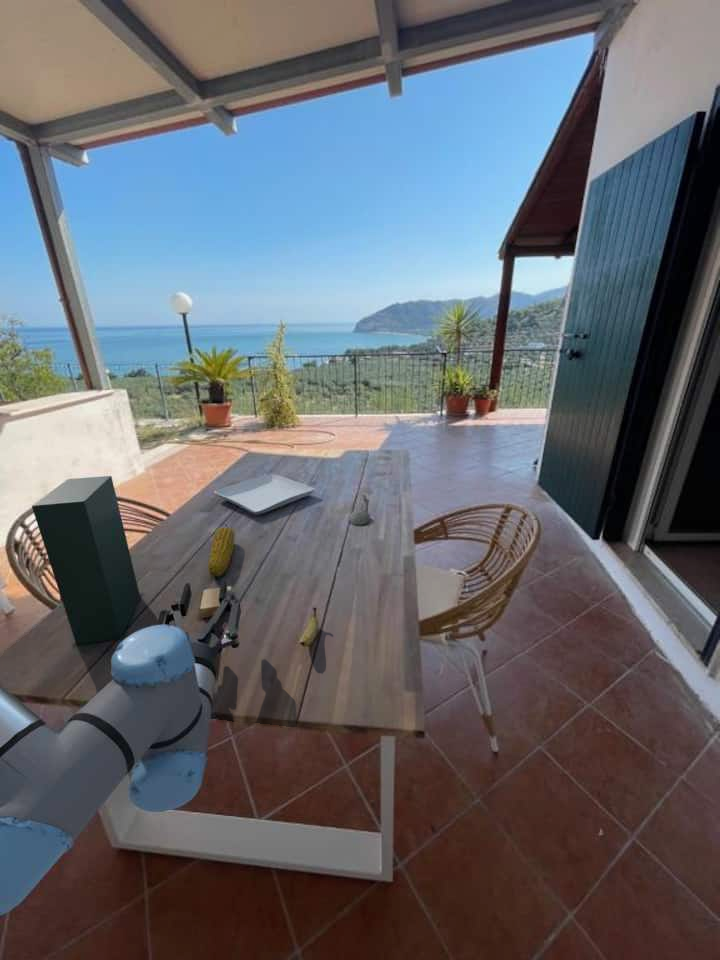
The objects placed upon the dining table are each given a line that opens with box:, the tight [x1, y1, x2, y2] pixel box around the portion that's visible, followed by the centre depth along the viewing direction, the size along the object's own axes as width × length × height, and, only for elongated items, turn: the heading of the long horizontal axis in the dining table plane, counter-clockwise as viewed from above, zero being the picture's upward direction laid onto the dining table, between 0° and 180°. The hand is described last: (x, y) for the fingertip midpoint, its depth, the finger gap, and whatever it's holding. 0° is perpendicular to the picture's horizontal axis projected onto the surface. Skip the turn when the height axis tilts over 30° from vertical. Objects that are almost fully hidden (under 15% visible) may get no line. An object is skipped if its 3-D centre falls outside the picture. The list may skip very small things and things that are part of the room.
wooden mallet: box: [199, 585, 233, 623], centre depth 80 cm, size 6×24×2 cm, turn 14°
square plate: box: [213, 473, 316, 516], centre depth 146 cm, size 27×27×4 cm
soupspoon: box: [349, 494, 371, 526], centre depth 135 cm, size 22×3×7 cm
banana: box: [298, 607, 319, 647], centre depth 77 cm, size 10×2×4 cm, turn 172°
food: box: [208, 526, 235, 578], centre depth 105 cm, size 21×6×6 cm, turn 13°
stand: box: [31, 475, 141, 646], centre depth 79 cm, size 8×14×30 cm, turn 14°
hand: (206, 586), depth 77 cm, fingers open, 6 cm apart
